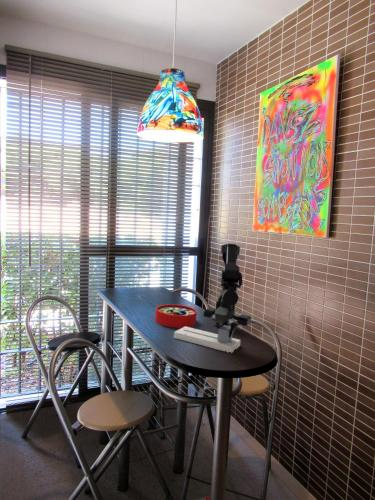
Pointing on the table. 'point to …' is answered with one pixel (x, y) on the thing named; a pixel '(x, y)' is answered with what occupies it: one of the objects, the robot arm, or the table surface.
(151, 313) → the table surface
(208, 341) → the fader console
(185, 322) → the red round tin
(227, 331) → the fader tab
